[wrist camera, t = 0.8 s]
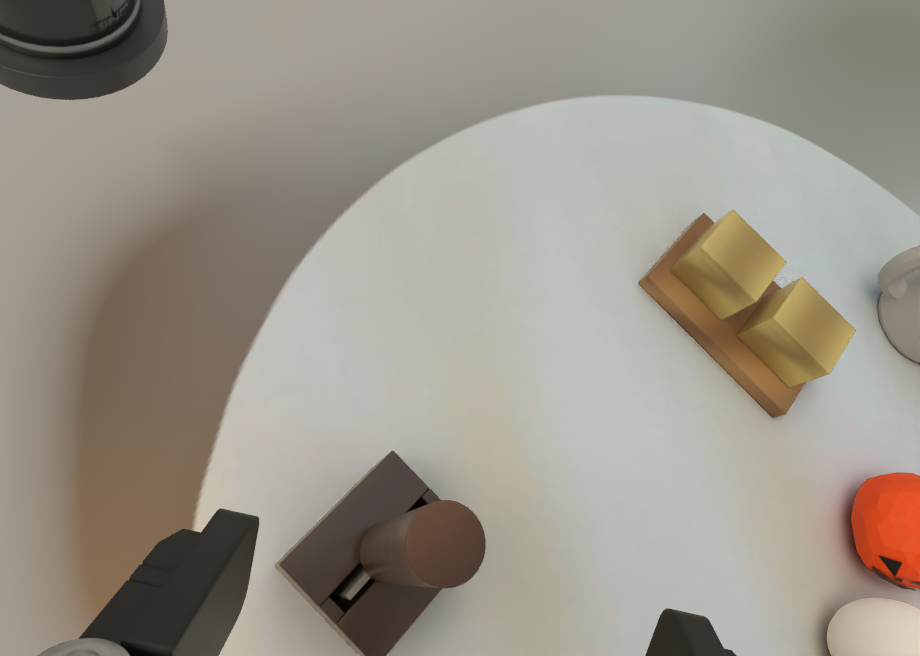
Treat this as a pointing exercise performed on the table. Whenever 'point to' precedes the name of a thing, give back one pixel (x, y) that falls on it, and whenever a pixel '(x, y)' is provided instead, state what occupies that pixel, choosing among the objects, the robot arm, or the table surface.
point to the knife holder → (338, 553)
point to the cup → (901, 302)
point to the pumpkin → (889, 527)
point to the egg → (875, 629)
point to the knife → (420, 549)
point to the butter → (748, 310)
